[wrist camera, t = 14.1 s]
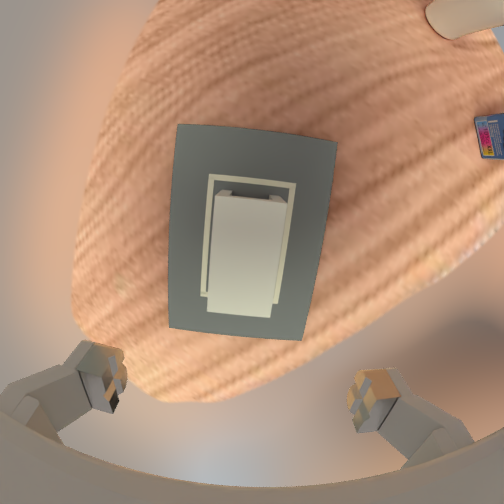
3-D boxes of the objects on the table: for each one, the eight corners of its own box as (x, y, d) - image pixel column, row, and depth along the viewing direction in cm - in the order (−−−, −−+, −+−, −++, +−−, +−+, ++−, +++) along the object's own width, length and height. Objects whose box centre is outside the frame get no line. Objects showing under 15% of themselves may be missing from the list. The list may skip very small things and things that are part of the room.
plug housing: (221, 189, 24) (215, 195, 19) (279, 195, 24) (287, 203, 19) (213, 285, 27) (206, 311, 22) (266, 291, 27) (270, 317, 22)
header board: (180, 125, 23) (168, 118, 19) (334, 143, 24) (348, 139, 20) (171, 322, 29) (161, 343, 25) (300, 335, 30) (306, 357, 26)
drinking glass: (411, 16, 18) (488, -35, 4) (426, -7, 17) (492, -52, 3) (453, 55, 20) (540, 27, 5) (464, 29, 18) (539, 0, 4)
